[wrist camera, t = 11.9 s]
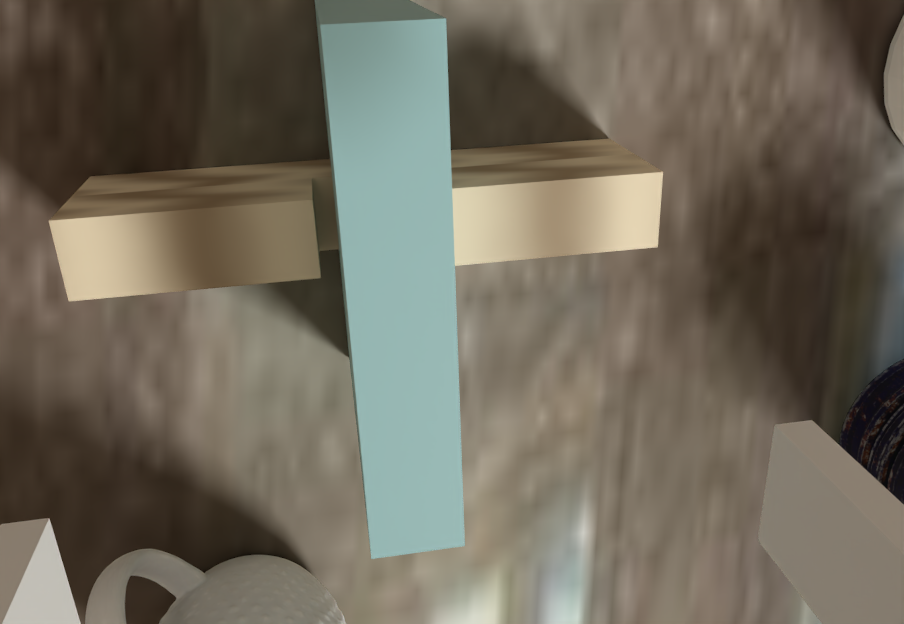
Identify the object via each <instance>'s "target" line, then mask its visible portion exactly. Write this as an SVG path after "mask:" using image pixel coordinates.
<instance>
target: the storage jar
mask: <svg viewBox="0 0 904 624" xmlns="http://www.w3.org/2000/svg"><path fill="white" fill-rule="evenodd" d="M839 445H840V446H841V447H842V448H843V449H844V450H845V451H846V452H847V453H848V454H849V455H850V456H852V457H853V458H854V459H855V460H856V461H857V462H858V463H859V464H860V465H861V466H862V467H863V468H865V469H866V470H867V471H868V472H869V473H870V474H871V475H872V476H873V477H874V478H875V479H876V480H878V481H879V482H880V483H881V484H882V485H883V486H884V487H885V488H886V489H887V490H888V491H889V492H891V493H892V494H893V495H894V496H895V497H896V498H897V499H898V500H899V501H900V502H901V503H902V504H904V359H903V360H901V361H899V362H897V363H895V364H894V365H892V366H891V367H889V368H888V369H886V370H885V371H883V372H882V373H881V374H880V375H878V376H877V377H876V378H875V379H874V380H873V381H872V382H871V383H870V384H869V385H868V386H867V387H866V388H865V389H864V390H863V391H862V392H861V394H860V395H859V396H858V398H857V399H856V400H855V402H854V404H853V405H852V407H851V409H850V410H849V412H848V414H847V417H846V419H845V421H844V424H843V427H842V431H841V435H840V443H839Z"/></svg>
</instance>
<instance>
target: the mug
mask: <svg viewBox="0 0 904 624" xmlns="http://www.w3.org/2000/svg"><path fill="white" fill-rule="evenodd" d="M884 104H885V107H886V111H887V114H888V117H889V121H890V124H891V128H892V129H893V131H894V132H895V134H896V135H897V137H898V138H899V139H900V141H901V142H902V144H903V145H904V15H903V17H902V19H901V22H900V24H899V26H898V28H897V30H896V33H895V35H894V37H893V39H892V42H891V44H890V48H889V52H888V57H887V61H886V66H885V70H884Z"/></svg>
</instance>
